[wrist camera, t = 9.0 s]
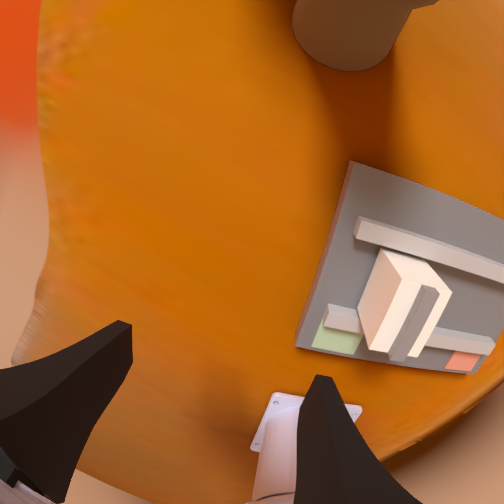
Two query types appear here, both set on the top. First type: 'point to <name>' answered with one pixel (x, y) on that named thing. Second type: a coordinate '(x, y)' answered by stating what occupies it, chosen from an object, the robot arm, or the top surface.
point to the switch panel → (417, 245)
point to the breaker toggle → (401, 304)
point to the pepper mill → (350, 29)
